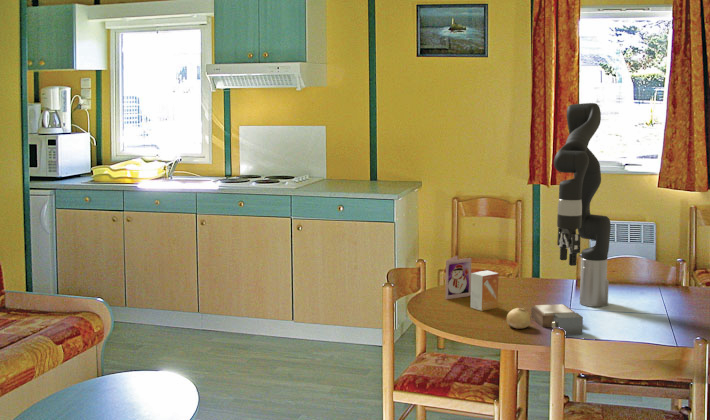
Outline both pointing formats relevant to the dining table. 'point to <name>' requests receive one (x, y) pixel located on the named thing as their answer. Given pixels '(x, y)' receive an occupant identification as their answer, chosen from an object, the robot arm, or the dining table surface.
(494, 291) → the small box
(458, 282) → the greeting card
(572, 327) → the block
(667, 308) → the dining table surface
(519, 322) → the onion
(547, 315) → the stand
